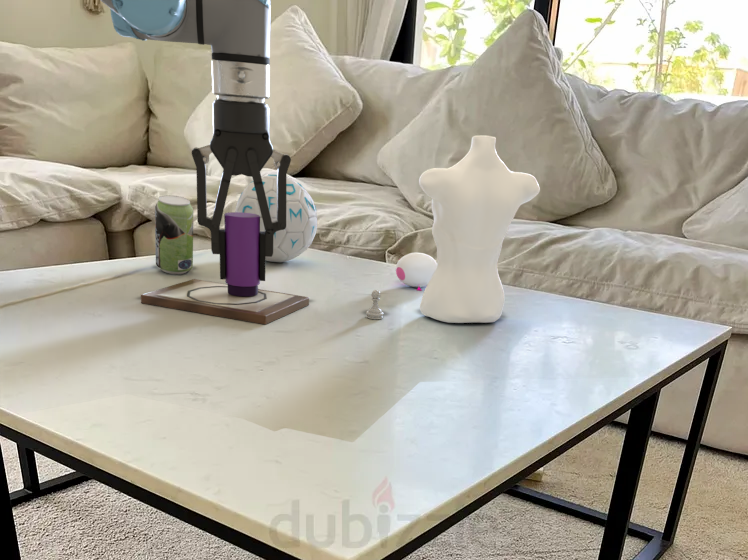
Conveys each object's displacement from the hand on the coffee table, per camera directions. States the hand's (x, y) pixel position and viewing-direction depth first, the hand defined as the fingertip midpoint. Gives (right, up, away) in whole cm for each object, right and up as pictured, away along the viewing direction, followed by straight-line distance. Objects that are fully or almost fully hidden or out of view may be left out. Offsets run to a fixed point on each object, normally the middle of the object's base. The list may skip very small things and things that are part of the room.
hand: (242, 277), depth 115 cm
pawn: (+19, -6, 0) cm, 20 cm away
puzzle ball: (0, +13, +33) cm, 35 cm away
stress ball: (+26, +5, +21) cm, 34 cm away
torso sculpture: (+32, -5, +3) cm, 33 cm away
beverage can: (-14, +6, +17) cm, 23 cm away
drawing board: (-2, -4, 0) cm, 4 cm away
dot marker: (0, -2, +1) cm, 2 cm away
